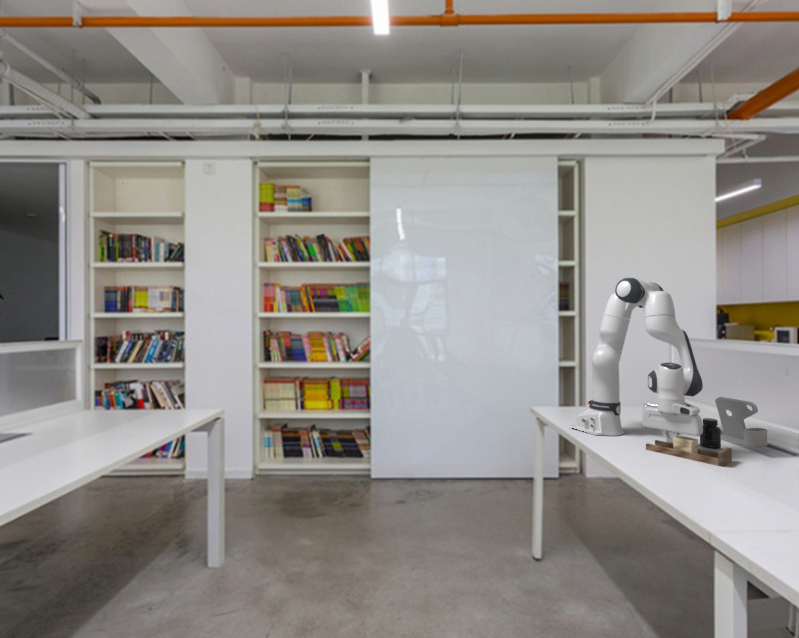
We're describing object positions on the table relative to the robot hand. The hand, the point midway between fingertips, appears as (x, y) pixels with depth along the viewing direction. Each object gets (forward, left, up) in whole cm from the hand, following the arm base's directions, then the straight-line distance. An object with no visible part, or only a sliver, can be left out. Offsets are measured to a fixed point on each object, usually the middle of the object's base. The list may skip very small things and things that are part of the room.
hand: (671, 442), depth 170 cm
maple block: (+5, 0, -3) cm, 6 cm away
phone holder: (+9, +45, -5) cm, 46 cm away
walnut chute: (+5, 0, -5) cm, 7 cm away
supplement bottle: (+6, +20, -5) cm, 22 cm away
